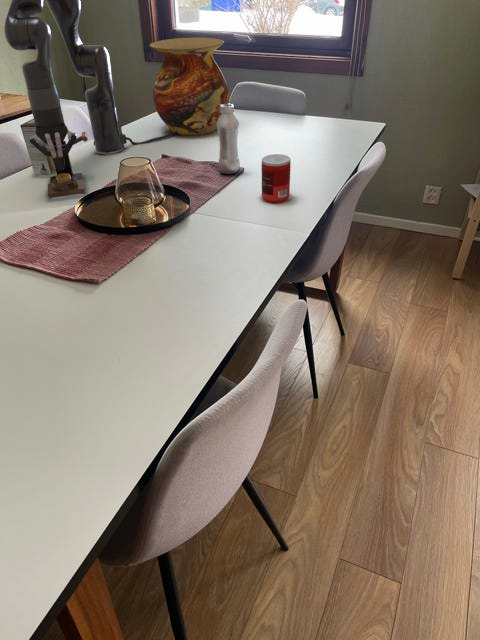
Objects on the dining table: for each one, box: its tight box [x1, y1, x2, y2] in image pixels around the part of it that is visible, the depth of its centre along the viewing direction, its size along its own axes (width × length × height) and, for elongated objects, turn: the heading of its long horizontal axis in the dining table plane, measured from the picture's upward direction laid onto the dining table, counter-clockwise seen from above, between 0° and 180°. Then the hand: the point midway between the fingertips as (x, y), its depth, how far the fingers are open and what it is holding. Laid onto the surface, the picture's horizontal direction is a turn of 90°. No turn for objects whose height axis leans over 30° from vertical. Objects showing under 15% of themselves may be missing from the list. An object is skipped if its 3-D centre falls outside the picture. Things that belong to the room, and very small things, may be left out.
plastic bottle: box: [216, 103, 241, 175], centre depth 150 cm, size 6×7×20 cm
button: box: [55, 173, 71, 183], centre depth 144 cm, size 4×4×2 cm
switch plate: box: [47, 176, 86, 199], centre depth 145 cm, size 10×8×4 cm
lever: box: [65, 131, 89, 146], centre depth 148 cm, size 11×5×2 cm, turn 106°
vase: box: [149, 37, 230, 136], centre depth 188 cm, size 29×29×30 cm
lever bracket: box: [49, 140, 84, 184], centre depth 150 cm, size 10×8×12 cm
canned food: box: [261, 153, 292, 204], centre depth 136 cm, size 8×8×11 cm
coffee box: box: [20, 117, 56, 176], centre depth 157 cm, size 9×6×16 cm
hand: (61, 169), depth 142 cm, fingers closed
